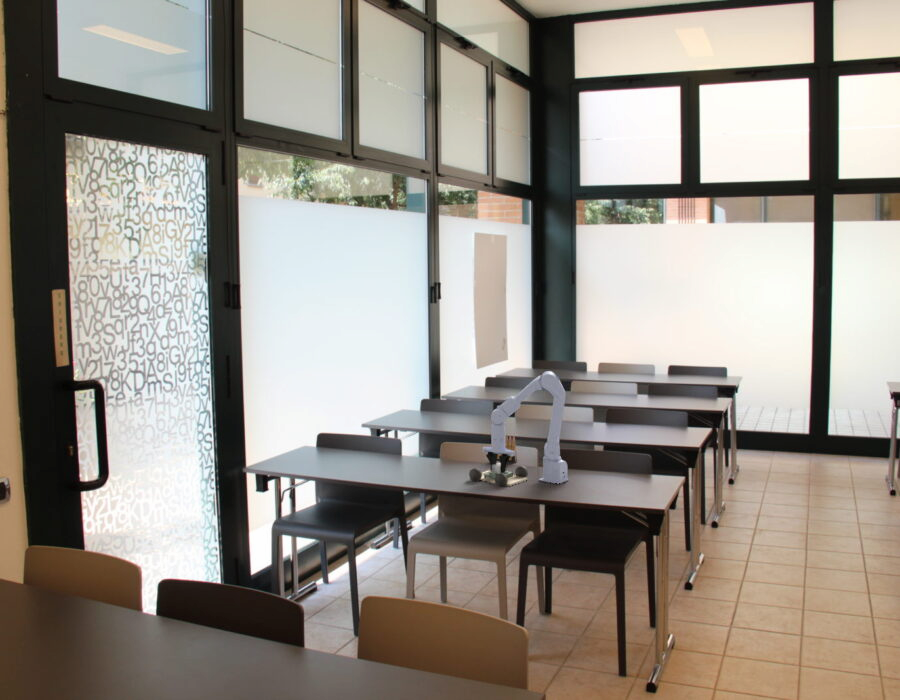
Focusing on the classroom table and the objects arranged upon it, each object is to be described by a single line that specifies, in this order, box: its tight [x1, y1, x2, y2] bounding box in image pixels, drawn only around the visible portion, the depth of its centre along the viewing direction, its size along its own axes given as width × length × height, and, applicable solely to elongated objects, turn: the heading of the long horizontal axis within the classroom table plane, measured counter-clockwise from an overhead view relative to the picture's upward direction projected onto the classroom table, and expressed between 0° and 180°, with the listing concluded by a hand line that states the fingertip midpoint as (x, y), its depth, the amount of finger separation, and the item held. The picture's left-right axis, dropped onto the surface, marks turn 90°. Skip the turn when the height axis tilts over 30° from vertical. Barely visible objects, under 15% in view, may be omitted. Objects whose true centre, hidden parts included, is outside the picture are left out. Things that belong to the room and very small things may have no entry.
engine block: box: [492, 463, 508, 475], centre depth 347 cm, size 4×5×5 cm
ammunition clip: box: [497, 434, 518, 464], centre depth 377 cm, size 11×2×12 cm, turn 61°
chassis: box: [468, 461, 529, 487], centre depth 347 cm, size 20×16×5 cm
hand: (498, 471), depth 347 cm, fingers closed on engine block, 4 cm apart
